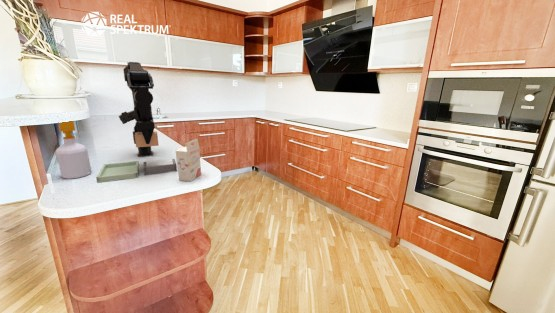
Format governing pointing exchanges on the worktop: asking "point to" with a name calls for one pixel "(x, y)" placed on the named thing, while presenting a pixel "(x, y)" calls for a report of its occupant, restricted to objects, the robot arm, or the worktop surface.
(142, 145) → the raised panel orange block
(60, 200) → the worktop surface
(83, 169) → the soap bottle
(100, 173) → the tray
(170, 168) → the printer bay
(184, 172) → the ink cartridge box
